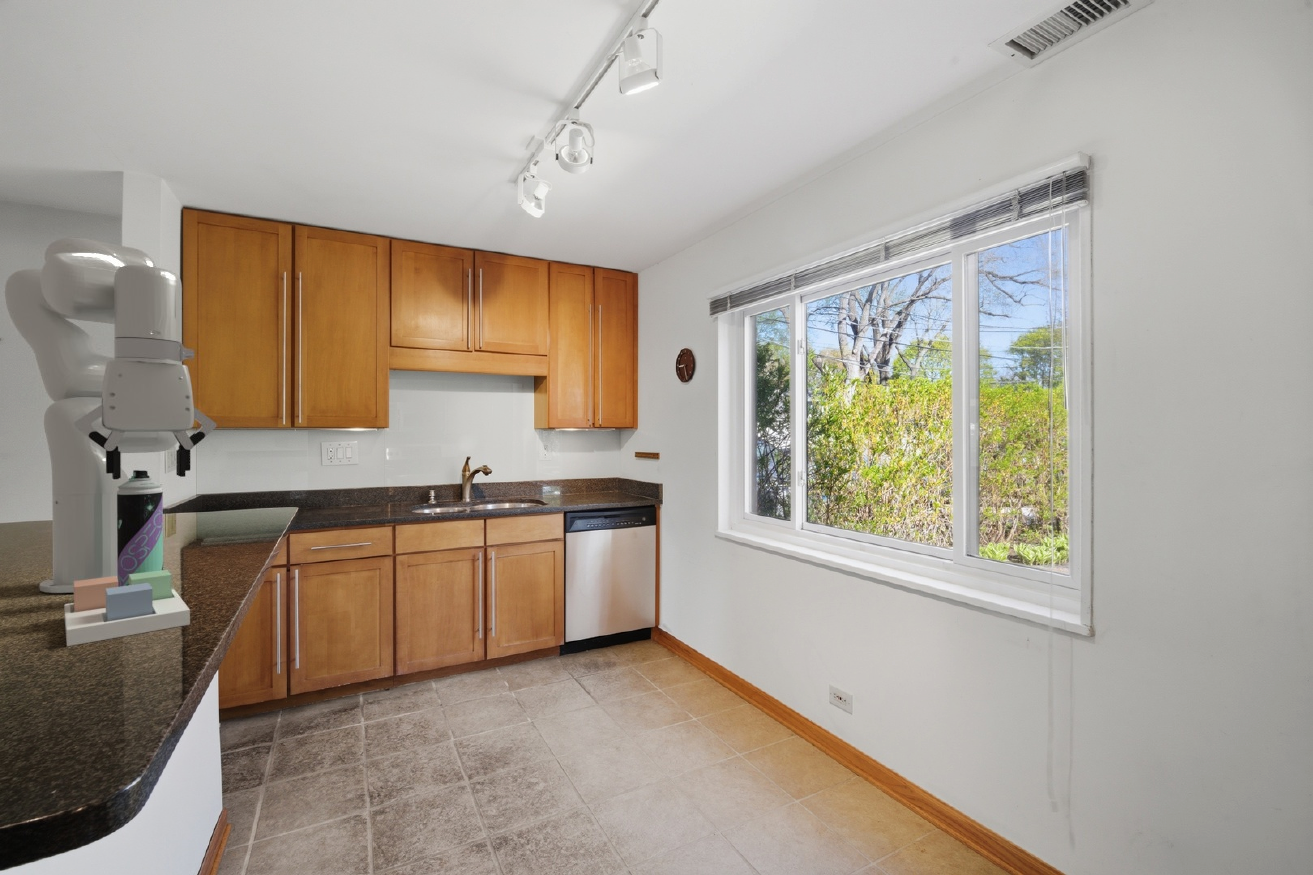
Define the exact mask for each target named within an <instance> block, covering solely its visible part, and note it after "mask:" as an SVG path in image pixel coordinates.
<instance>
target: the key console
mask: <svg viewBox="0 0 1313 875" xmlns="http://www.w3.org/2000/svg"><path fill="white" fill-rule="evenodd" d="M152 602H153V614H151V615H145V616H139V617H133V618H127V619H121V620H115V621H107V617H106V608H101V609H95V610H88V611H81V612H74V602H71V603H65V604H64V625H65V626H64V629H65V638H66V640H65V641H66V647H71V646H77V645H81V644H88V643H92V642H93V643H94V642H99V641H104V640H105V641H106V640H110V639H115V638H117V639H118V638H121V637H128V636H132V635H139V634H143V633H145V634H146V633H149V632H156V631H160V630H166V629H167V630H168V629H172V628H178V627H183V626H189V625H190V624H191V609H190V608H189V606H188V605H187V604H186V602H185V601H184V600H183V599H182V597H181V596H180V595H179V594H178V592H177V590H175V588H172V598H167V599H161V600H154V601H152Z"/></svg>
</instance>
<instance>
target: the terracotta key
mask: <svg viewBox="0 0 1313 875" xmlns="http://www.w3.org/2000/svg"><path fill="white" fill-rule="evenodd" d="M113 587H118V580H117V577H116V576H112V577H104V578H96V579H88V580H80V581H74V592H73V603H74V612H81V611H88V610H95V609H101V608H106V588H113Z"/></svg>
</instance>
